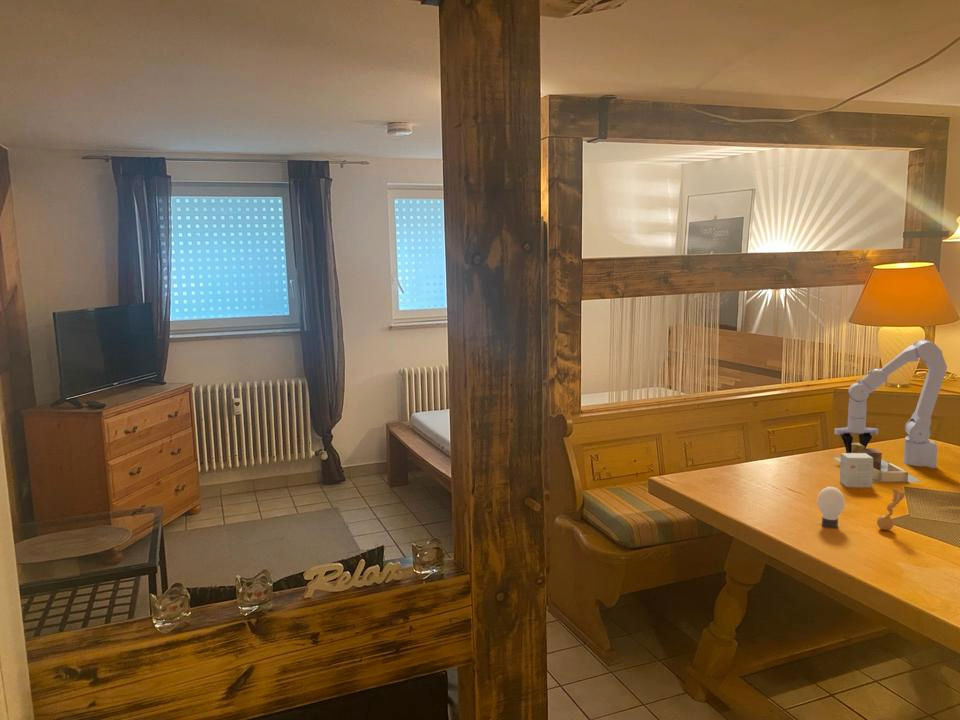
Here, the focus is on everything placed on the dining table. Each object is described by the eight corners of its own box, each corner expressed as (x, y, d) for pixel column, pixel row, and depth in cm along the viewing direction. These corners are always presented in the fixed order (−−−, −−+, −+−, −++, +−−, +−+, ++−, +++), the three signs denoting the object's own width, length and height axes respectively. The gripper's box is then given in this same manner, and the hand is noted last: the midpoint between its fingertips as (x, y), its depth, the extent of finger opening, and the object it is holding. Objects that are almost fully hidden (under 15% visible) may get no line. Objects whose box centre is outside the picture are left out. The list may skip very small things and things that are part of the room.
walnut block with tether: (859, 456, 256) (860, 440, 255) (880, 469, 242) (881, 452, 240) (845, 456, 257) (846, 440, 256) (865, 469, 242) (866, 452, 241)
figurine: (878, 523, 196) (880, 482, 194) (903, 527, 193) (906, 485, 191) (875, 533, 189) (877, 490, 188) (901, 538, 186) (903, 494, 184)
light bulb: (823, 530, 192) (825, 491, 191) (811, 521, 199) (813, 483, 198) (848, 529, 193) (850, 490, 191) (835, 520, 199) (837, 482, 198)
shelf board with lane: (878, 459, 256) (878, 449, 255) (921, 483, 228) (922, 472, 228) (832, 459, 257) (833, 449, 256) (870, 484, 229) (871, 472, 229)
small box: (864, 484, 229) (866, 452, 228) (872, 489, 224) (874, 457, 222) (838, 484, 230) (840, 452, 229) (845, 489, 225) (847, 457, 223)
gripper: (872, 414, 256) (870, 450, 258) (831, 414, 257) (829, 450, 259) (882, 418, 249) (879, 455, 251) (840, 418, 250) (838, 456, 252)
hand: (855, 453), depth 255 cm, fingers closed on walnut block with tether, 4 cm apart
